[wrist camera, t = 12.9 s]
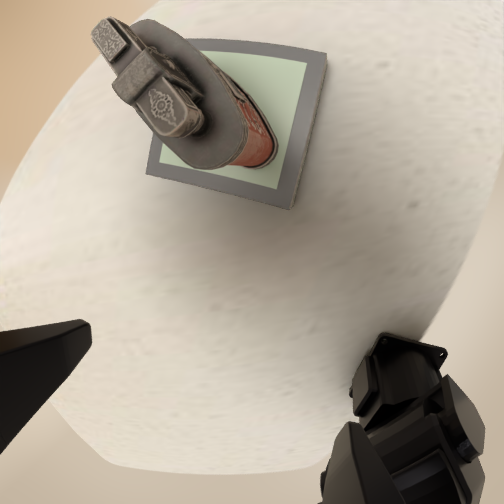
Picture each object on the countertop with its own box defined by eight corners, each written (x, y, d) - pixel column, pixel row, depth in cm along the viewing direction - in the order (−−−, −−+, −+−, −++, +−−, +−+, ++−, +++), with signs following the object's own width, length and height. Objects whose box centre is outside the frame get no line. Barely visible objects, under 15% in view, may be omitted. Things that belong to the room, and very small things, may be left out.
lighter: (292, 147, 16) (246, 117, 7) (246, 181, 17) (154, 197, 8) (213, 54, 16) (118, -19, 6) (174, 88, 17) (60, 46, 7)
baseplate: (327, 64, 16) (326, 52, 14) (292, 206, 19) (288, 210, 17) (190, 47, 18) (177, 38, 16) (160, 173, 21) (144, 174, 19)
